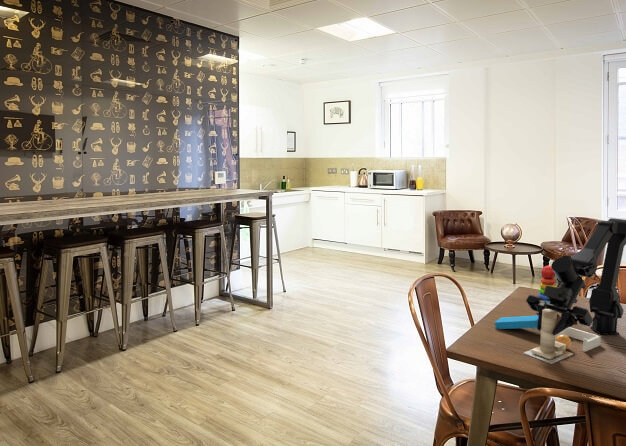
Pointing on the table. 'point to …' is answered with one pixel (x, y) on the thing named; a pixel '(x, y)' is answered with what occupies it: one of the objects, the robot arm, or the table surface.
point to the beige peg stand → (549, 336)
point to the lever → (517, 322)
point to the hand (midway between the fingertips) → (545, 332)
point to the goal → (582, 337)
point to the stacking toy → (546, 281)
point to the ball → (564, 340)
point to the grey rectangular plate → (552, 360)
